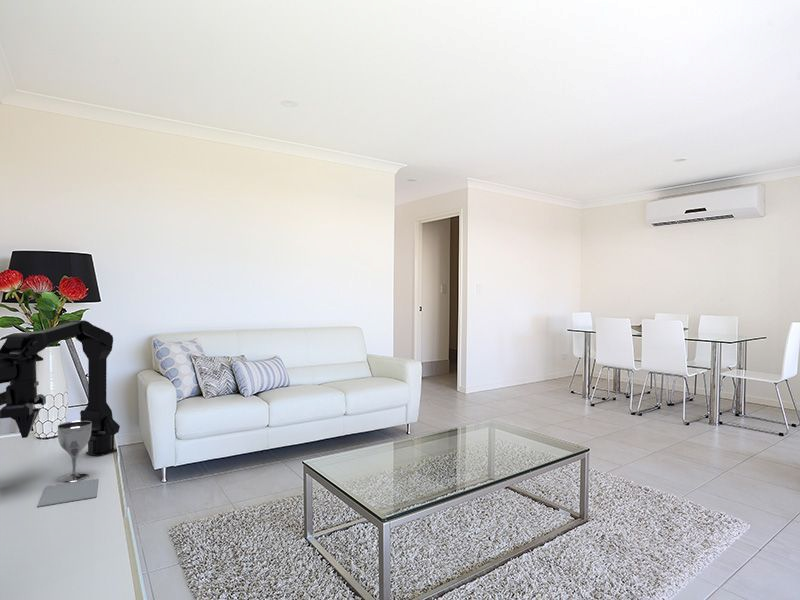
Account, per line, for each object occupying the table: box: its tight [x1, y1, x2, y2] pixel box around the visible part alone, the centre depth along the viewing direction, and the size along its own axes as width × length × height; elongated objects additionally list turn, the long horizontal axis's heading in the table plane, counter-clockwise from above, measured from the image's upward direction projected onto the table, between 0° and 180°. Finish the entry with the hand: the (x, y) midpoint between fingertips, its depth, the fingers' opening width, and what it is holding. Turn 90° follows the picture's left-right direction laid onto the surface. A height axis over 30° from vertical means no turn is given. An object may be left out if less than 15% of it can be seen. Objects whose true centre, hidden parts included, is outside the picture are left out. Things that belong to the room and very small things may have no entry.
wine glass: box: [57, 420, 92, 483], centre depth 134 cm, size 8×8×15 cm
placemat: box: [36, 478, 99, 508], centre depth 124 cm, size 14×12×1 cm
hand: (25, 437), depth 129 cm, fingers closed
